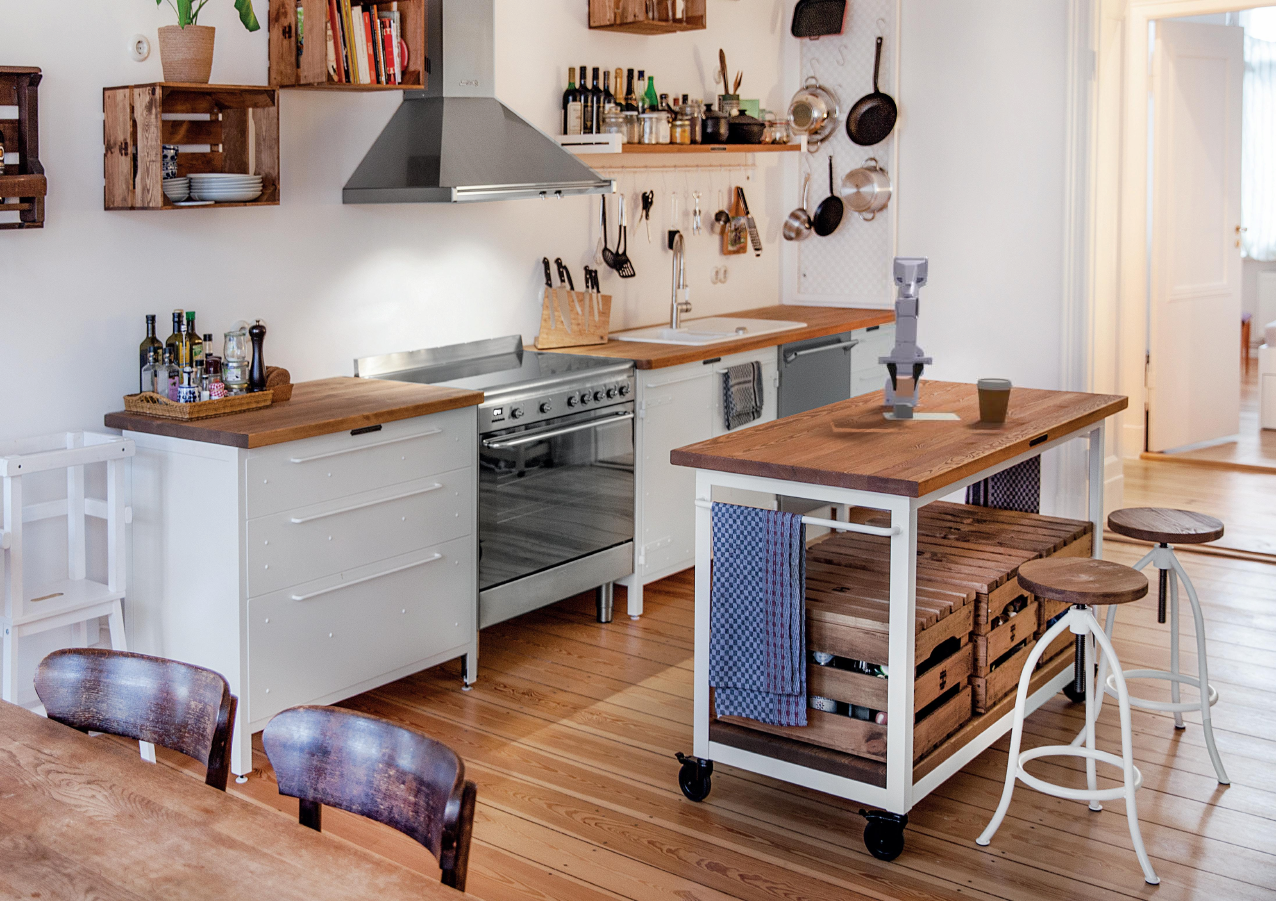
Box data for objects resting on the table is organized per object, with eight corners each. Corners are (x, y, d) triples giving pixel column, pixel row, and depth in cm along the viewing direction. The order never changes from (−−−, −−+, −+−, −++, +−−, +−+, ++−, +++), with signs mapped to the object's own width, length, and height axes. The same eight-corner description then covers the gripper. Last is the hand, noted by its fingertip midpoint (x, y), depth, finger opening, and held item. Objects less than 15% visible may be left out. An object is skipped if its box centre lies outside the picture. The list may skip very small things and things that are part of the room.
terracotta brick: (897, 397, 344) (897, 379, 343) (894, 393, 351) (894, 375, 350) (913, 397, 344) (914, 379, 343) (910, 393, 350) (911, 376, 350)
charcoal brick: (896, 418, 345) (896, 406, 344) (893, 414, 352) (893, 402, 351) (912, 418, 345) (913, 406, 344) (909, 414, 352) (910, 402, 351)
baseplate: (886, 422, 343) (887, 419, 343) (882, 416, 355) (882, 412, 355) (961, 423, 341) (961, 420, 341) (953, 416, 353) (954, 413, 353)
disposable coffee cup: (1004, 428, 335) (1007, 383, 332) (969, 424, 340) (971, 381, 337) (1014, 423, 343) (1017, 379, 340) (980, 420, 348) (982, 377, 345)
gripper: (880, 342, 341) (879, 392, 344) (934, 343, 340) (932, 392, 342) (877, 340, 348) (876, 388, 351) (930, 340, 347) (928, 389, 349)
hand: (903, 390), depth 347 cm, fingers closed on terracotta brick, 4 cm apart
